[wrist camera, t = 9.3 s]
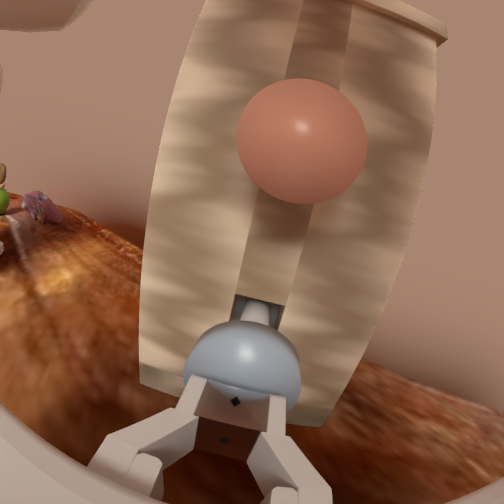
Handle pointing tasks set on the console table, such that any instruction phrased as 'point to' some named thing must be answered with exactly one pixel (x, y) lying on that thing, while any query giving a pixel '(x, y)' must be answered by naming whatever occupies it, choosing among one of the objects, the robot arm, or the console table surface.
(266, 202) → the beige tall block
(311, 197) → the reddish round knob
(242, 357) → the lower key
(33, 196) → the video game controller
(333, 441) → the console table surface
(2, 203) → the snail figurine
